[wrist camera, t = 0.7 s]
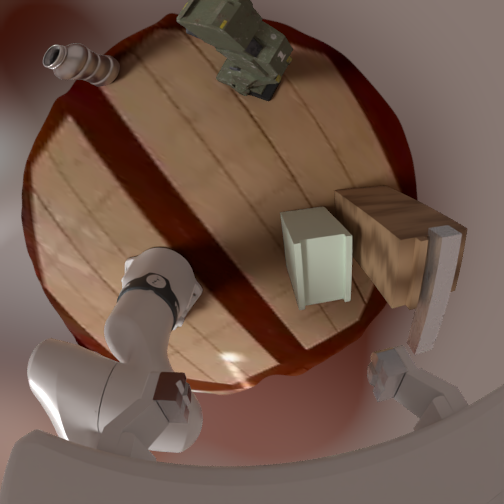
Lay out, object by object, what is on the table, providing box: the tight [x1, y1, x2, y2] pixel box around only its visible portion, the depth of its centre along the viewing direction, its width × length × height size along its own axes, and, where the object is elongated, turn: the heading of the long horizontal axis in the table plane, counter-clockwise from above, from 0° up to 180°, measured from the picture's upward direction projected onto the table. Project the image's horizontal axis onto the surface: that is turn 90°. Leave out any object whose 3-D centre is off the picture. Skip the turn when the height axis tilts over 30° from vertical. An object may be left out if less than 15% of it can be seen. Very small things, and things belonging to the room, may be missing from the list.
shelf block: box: [280, 207, 352, 310], centre depth 48 cm, size 12×9×16 cm
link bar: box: [407, 225, 462, 355], centre depth 30 cm, size 19×4×3 cm, turn 9°
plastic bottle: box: [43, 43, 120, 86], centre depth 30 cm, size 6×7×20 cm
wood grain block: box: [335, 186, 467, 310], centre depth 41 cm, size 10×12×27 cm
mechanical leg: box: [177, 0, 293, 101], centre depth 29 cm, size 14×7×30 cm, turn 64°
